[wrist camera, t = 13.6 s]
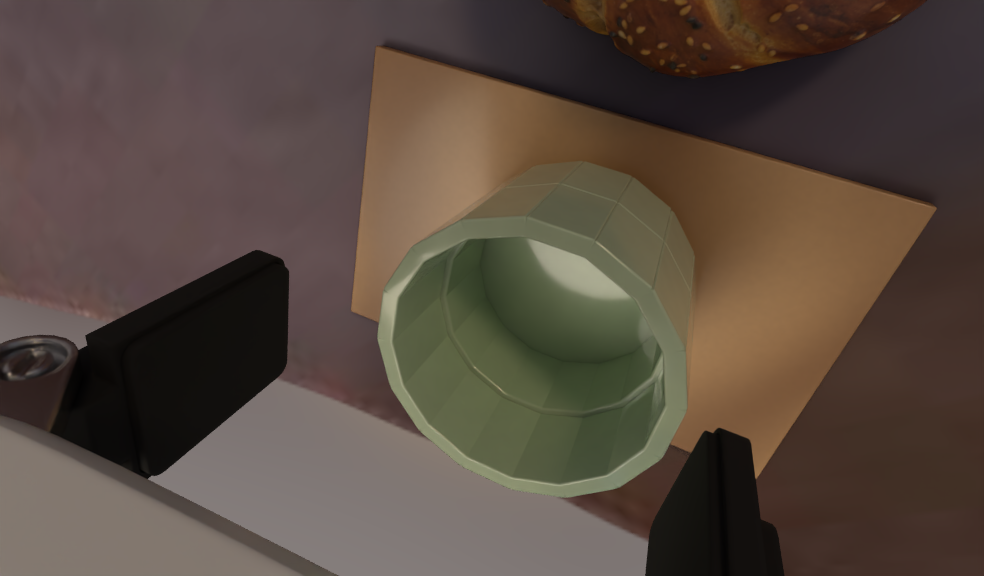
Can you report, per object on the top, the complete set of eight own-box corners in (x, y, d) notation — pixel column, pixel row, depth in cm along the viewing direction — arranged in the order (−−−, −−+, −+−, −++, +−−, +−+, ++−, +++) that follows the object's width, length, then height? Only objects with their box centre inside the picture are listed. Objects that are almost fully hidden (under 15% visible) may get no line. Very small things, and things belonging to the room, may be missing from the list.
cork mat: (356, 307, 22) (350, 311, 22) (381, 45, 17) (375, 45, 17) (755, 472, 18) (756, 480, 18) (933, 203, 14) (938, 208, 13)
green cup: (454, 323, 20) (365, 423, 15) (495, 128, 16) (396, 171, 11) (646, 400, 18) (619, 541, 13) (738, 203, 15) (750, 292, 10)
